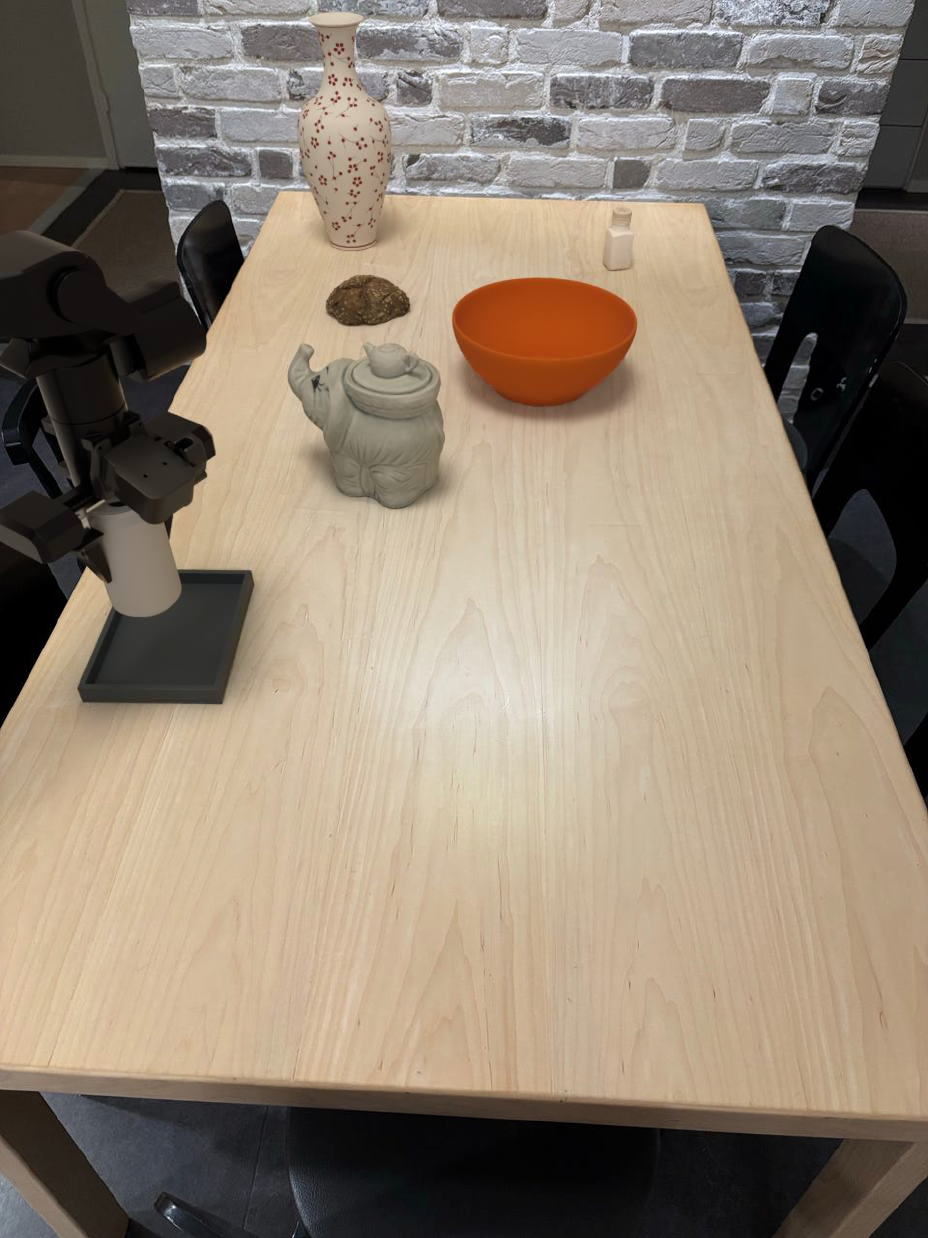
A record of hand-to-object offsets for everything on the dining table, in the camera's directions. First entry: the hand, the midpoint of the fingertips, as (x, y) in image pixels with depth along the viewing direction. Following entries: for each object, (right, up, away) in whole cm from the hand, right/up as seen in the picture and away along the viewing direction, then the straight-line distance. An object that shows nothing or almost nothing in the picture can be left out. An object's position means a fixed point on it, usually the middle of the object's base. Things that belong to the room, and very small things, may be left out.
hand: (135, 560), depth 81 cm
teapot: (+18, +12, +32) cm, 39 cm away
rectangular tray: (0, -7, +11) cm, 13 cm away
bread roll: (+13, +45, +66) cm, 81 cm away
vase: (+9, +64, +87) cm, 108 cm away
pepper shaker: (+56, +57, +79) cm, 112 cm away
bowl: (+40, +29, +50) cm, 70 cm away
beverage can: (0, -3, +3) cm, 5 cm away
